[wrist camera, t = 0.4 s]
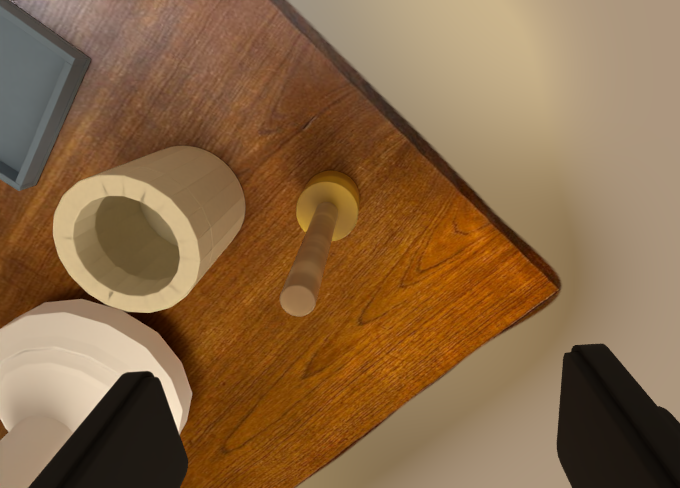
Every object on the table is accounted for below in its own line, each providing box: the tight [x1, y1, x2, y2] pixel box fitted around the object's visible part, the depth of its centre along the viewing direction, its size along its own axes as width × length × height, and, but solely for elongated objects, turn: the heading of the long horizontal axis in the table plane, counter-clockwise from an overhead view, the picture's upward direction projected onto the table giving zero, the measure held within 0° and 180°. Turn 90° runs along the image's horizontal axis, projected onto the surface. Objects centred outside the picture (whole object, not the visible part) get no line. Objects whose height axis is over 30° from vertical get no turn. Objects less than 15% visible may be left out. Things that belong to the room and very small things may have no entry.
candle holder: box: [0, 299, 192, 488], centre depth 38 cm, size 20×20×19 cm
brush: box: [280, 171, 360, 316], centre depth 29 cm, size 5×5×18 cm
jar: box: [53, 146, 245, 313], centre depth 34 cm, size 10×10×11 cm
